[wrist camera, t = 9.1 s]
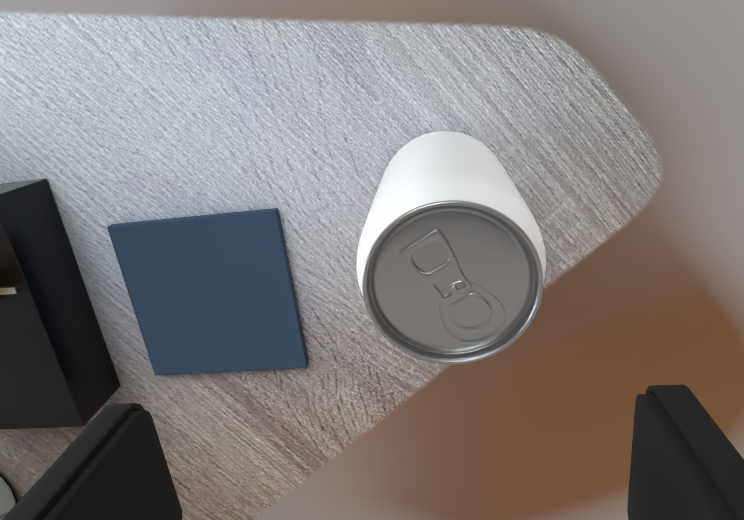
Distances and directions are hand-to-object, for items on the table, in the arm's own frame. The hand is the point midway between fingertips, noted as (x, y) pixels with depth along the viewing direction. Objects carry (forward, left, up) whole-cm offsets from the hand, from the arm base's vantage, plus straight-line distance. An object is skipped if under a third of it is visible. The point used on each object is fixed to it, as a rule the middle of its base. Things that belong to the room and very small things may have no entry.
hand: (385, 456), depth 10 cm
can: (0, +2, -19) cm, 19 cm away
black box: (+4, -25, -19) cm, 32 cm away
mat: (+5, -12, -19) cm, 23 cm away
